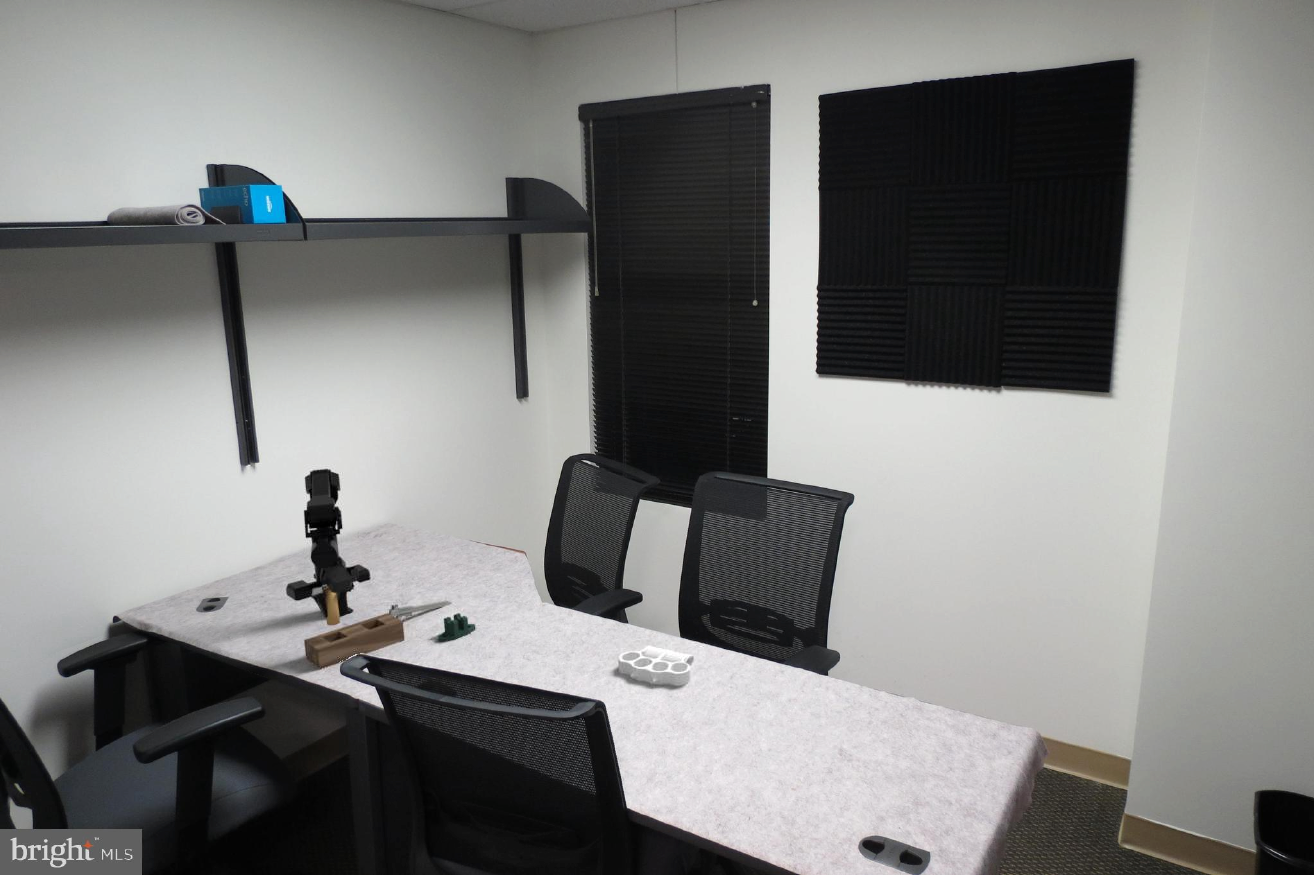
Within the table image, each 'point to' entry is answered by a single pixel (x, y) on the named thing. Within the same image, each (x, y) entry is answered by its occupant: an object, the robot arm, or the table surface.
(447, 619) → the mount
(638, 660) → the white brass knuckles
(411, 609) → the caliper
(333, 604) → the peg
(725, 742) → the table surface
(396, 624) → the hole block
